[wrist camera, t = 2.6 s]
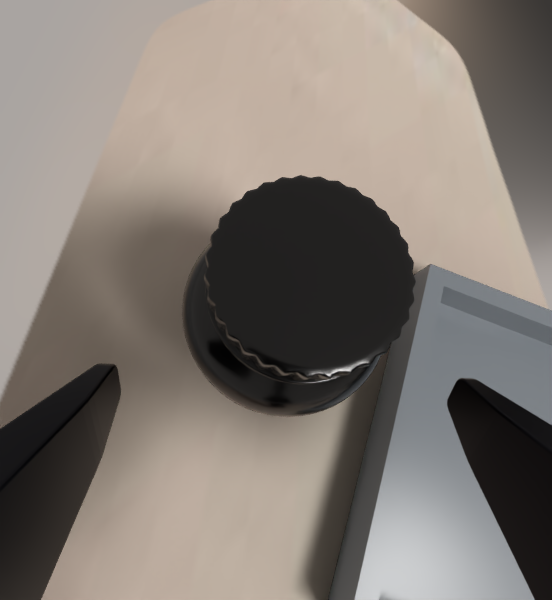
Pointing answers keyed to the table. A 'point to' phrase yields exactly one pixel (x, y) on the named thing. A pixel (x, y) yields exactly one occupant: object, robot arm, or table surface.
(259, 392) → the supplement bottle
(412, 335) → the tray
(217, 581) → the table surface
